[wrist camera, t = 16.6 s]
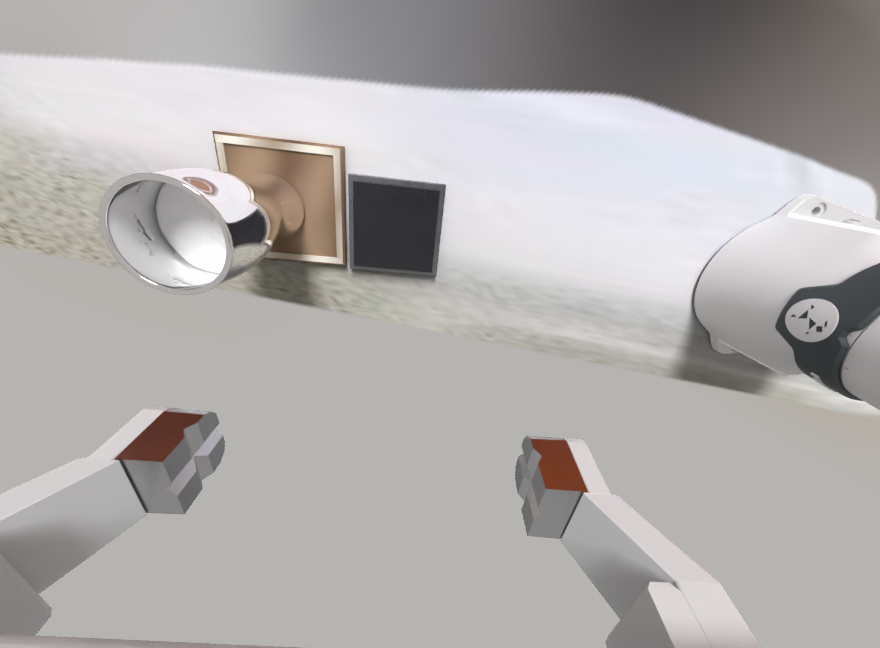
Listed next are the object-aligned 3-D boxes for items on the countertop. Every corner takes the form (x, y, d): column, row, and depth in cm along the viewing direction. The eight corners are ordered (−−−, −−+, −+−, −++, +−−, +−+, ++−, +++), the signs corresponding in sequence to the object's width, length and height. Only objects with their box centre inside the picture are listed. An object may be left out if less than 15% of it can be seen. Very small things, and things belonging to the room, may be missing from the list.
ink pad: (445, 184, 32) (446, 185, 31) (435, 273, 36) (436, 277, 35) (350, 173, 31) (347, 174, 30) (351, 265, 36) (348, 270, 34)
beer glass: (262, 256, 33) (162, 317, 20) (215, 187, 31) (60, 204, 17) (323, 226, 33) (262, 269, 19) (281, 153, 30) (172, 143, 16)
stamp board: (344, 146, 30) (342, 146, 29) (346, 263, 35) (345, 266, 34) (217, 131, 29) (211, 130, 28) (238, 253, 34) (233, 256, 33)
